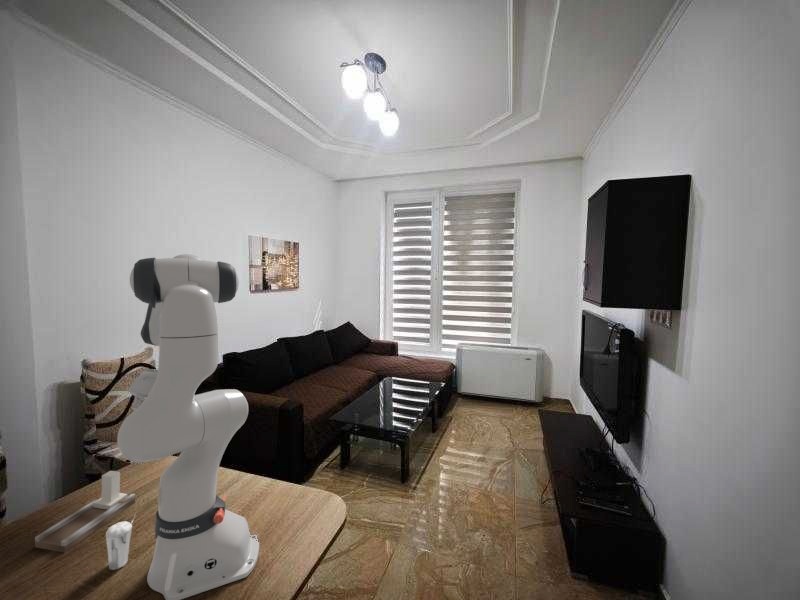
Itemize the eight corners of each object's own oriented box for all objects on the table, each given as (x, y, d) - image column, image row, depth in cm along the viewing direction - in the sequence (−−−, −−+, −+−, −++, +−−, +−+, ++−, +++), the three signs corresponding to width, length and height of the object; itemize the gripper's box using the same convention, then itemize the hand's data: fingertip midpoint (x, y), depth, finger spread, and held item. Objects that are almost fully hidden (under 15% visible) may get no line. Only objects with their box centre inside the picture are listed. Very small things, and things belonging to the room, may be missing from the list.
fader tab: (111, 495, 95) (111, 467, 95) (127, 498, 94) (128, 469, 94) (92, 507, 90) (93, 477, 90) (110, 509, 90) (110, 480, 89)
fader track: (110, 498, 96) (110, 489, 96) (135, 502, 95) (135, 493, 95) (34, 547, 79) (35, 536, 78) (64, 552, 78) (64, 541, 77)
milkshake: (139, 559, 77) (140, 518, 76) (109, 576, 72) (110, 532, 72) (130, 550, 79) (131, 509, 79) (101, 565, 75) (102, 522, 74)
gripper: (140, 363, 111) (111, 402, 101) (197, 368, 108) (172, 409, 99) (152, 373, 115) (124, 411, 106) (206, 378, 113) (183, 418, 104)
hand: (148, 410), depth 103 cm, fingers open, 8 cm apart
